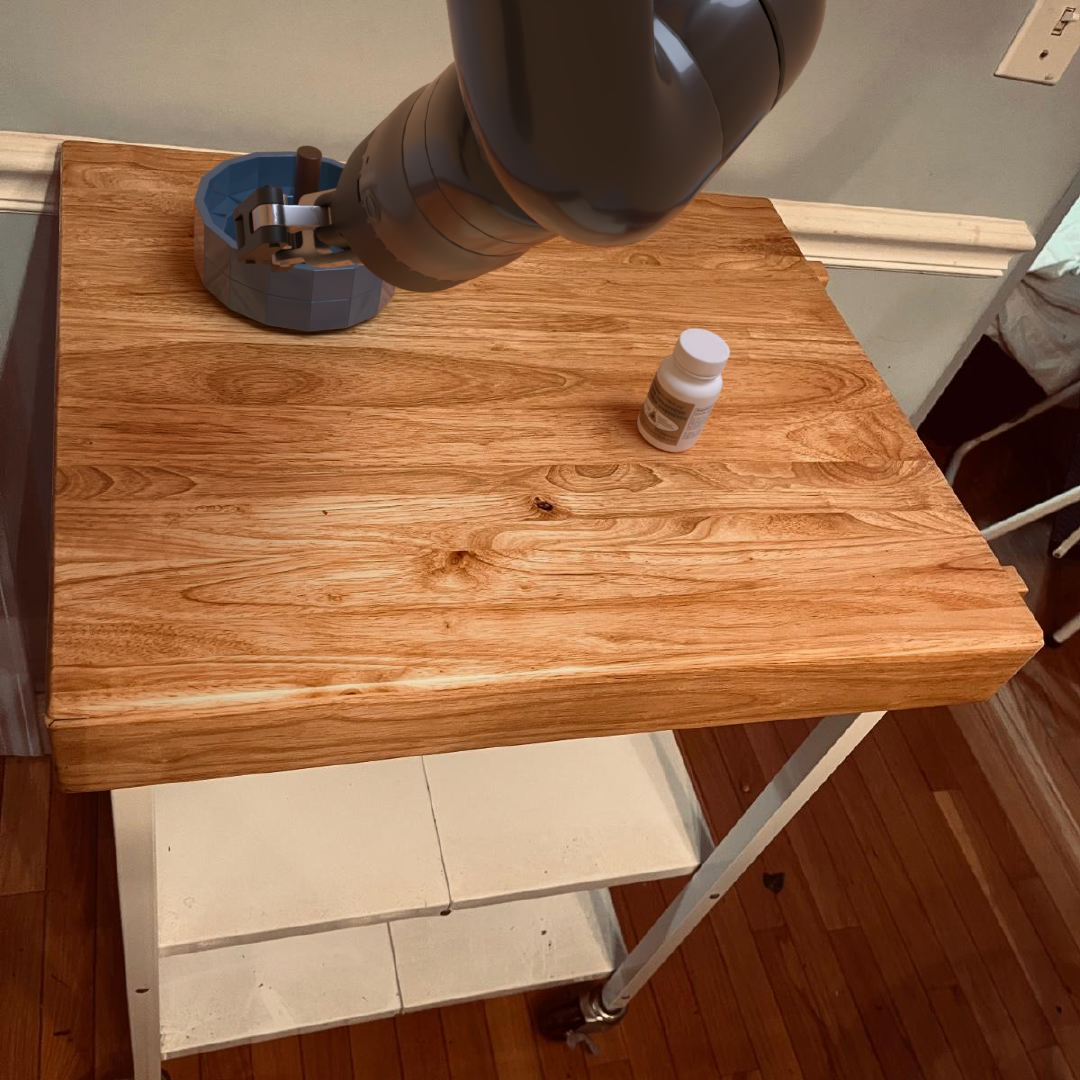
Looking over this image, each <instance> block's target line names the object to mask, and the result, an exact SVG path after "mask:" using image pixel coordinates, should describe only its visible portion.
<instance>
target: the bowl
mask: <svg viewBox="0 0 1080 1080" xmlns="http://www.w3.org/2000/svg"><path fill="white" fill-rule="evenodd" d="M296 154H297V151H293V150H292V151H291V150H290V151H283V150H282V151H253V152H250V153H246V154H242V155H239V156H234V157H232V158H227V159H224V160H222V161H221V162H219V163H218V164H217V165H216V166H214V167H213V168H212V169H210V170H209V171H207V172H206V173H205V174H203V175H202V176H201V177H200V180H199V182H198V186H197V189H196V192H195V196H194V198H193V209H194V210H193V264H194V265H195V268H196V270H197V274H198V276H199V278H200V281H201V283H202V286H203V287H204V288H205V289H206V290H207V291H209V293H210V294H212V295H213V296H214V297H215V298H216V299H217V300H219V301H220V302H221V303H222V304H223V305H224V306H225V307H227V308H228V309H229V310H230V311H233V312H235V313H237V314H239V315H242V316H244V317H246V318H249V319H251V320H254V321H256V322H258V323H261V324H263V325H265V326H270V327H277V328H282V329H289V330H295V331H296V330H297V331H302V332H315V331H318V332H319V331H327V330H340V329H346V328H350V327H353V326H355V325H357V324H360V323H362V322H364V321H366V320H369V319H371V318H374V317H377V316H378V314H379V313H380V312H381V311H382V310H383V309H384V307H385V306H386V305H387V304H388V303H389V302H390V300H391V299H392V298H393V297H394V296H395V291H396V290H395V289H396V287H395V286H392V285H390V284H388V283H386V282H385V281H383V280H381V279H380V278H378V277H377V276H376V275H374V274H373V273H372V272H371V271H370V270H369V269H367V268H366V267H365V266H364V265H358V264H352V265H346V266H340V267H334V268H319V267H312V266H308V265H307V264H302V263H297V264H296V265H295V266H293V267H292V268H291V269H289V270H288V271H287V272H283V273H272V271H271V267H270V265H263V264H261V262H258V263H256V265H245V263H239V262H238V259H237V251H238V249H237V239H236V230H235V222H234V220H233V210H234V209H235V208H236V207H237V206H238V205H239V204H241V203H242V202H243V201H244V200H245V199H246V198H247V197H248V196H249V195H250V194H251V193H252V192H253V191H254V190H256V189H257V188H261V187H263V186H265V185H273V186H275V187H279V188H282V189H283V194H286V195H287V201H288V205H293V192H294V179H295V167H296ZM345 164H346V163H343V162H341V161H338V160H336V159H334V158H330V157H324V156H322V161H321V172H320V182H319V192H321V191H326V190H330V189H335V188H337V185H338V182H339V179H340V176H341V174H342V171H343V169H344V166H345ZM331 251H332V252H337V251H343V249H340V248H337V247H334V246H332V245H331Z"/></svg>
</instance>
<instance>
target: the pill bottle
mask: <svg viewBox="0 0 1080 1080" xmlns="http://www.w3.org/2000/svg"><path fill="white" fill-rule="evenodd" d="M730 354H731V351H730V347H729V345H728V343H727V342H726V341H725V340H724V339H723V338H722V337H721V336H720V335H718V334H716V333H715V332H713V331H710V330H707V329H704V328H699V327H697V328H694V327H693V328H687V329H685V330H683V331H682V332H681V333H680V335H679V336H678V338H677V340H676V343H675V345H674V347H673V351H672V353H671V354H668V355H667V356H665V357H664V358H663V359H662V360H661V361H660V364H659V365H658V367H657V369H656V372H655V374H654V377H653V379H652V382H651V385H650V386H649V389H648V391H647V394H646V397H645V399H644V400H643V403H642V407H641V409H640V411H639V413H638V415H637V420H636V425H637V429H638V431H639V433H640V434H641V436H642V437H643V438H644V440H646V442H648V444H651V445H652V446H653V447H655V448H657V449H659V450H662V451H665V452H668V453H682V452H686V451H688V450H690V449H692V448H693V447H694V446H695V445H696V443H697V441H698V440H699V438H700V435H701V434H702V431H703V430H704V428H705V425H706V423H707V421H708V419H709V417H710V416H711V413H712V411H713V409H714V407H715V405H716V403H717V400H718V399H719V396H720V394H721V391H722V389H723V377H722V373H723V371H724V370H725V367H726V365H727V363H728V361H729V358H730Z"/></svg>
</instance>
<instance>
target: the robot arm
mask: <svg viewBox="0 0 1080 1080" xmlns="http://www.w3.org/2000/svg"><path fill="white" fill-rule="evenodd" d="M445 4H446V11H447V18H448V19H447V20H448V27H449V34H450V40H451V48H452V55H453V59H454V60H453V61H452V62H451V63H450V64H449V65H448V66H447V67H446V68H445V69H444V70H443V71H442V72H441V73H439V75H437V76H436V78H434V79H433V80H432V81H431V82H429V83H426V84H424V85H422V86H421V87H419V88H418V89H416V90H415V91H413V92H412V93H411V94H409V95H408V96H407V97H406V98H404V99H403V100H402V101H401V102H400V103H399V104H398V105H397V106H396V107H395V108H393V110H392V111H391V112H390V113H388V115H387V116H385V118H384V119H382V121H381V122H380V123H378V125H376V127H375V128H374V129H372V131H371V132H370V133H369V134H367V136H366V137H365V138H364V139H362V141H360V143H359V144H358V145H357V146H356V147H355V148H354V149H353V151H352V152H351V154H350V155H349V157H348V159H347V160H346V162H345V163H344V164H345V166H344V169H343V171H342V174H341V176H340V179H339V182H338V185H337V188H335V189H330V190H326V191H321V192H316V193H311V194H306V195H303V196H302V197H301V198H300V200H299V204H298V205H288V201H287V195H286V194H283V189H282V188H279V187H275V186H273V185H265V186H263V187H261V188H257V189H256V190H254V191H253V192H252V193H251V194H250V195H249V196H248V197H247V198H246V199H245V200H244V201H243V202H242V203H241V204H239V205H238V206H237V207H236V208H235V209H234V210H233V220H234V222H235V230H236V239H237V249H238V251H237V259H238V262H239V263H245V265H256V263H258V262H261V264H263V265H270V267H271V271H272V273H283V272H287V271H288V270H289V269H291V268H292V267H293V266H295V265H296V264H297V263H301V262H305V263H306V264H307V265H308V266H312V267H319V268H334V267H340V266H346V265H352V264H358V265H364V266H365V267H366V268H367V269H369V270H370V271H371V272H372V273H373V274H374V275H376V276H377V277H378V278H380V279H381V280H383V281H385V282H386V283H388V284H390V285H392V286H395V288H398V289H401V290H404V291H408V292H412V293H420V294H421V293H422V294H423V293H425V294H427V293H428V294H429V293H437V292H438V293H439V292H442V291H446V290H450V289H451V288H454V287H457V286H459V285H462V284H464V283H467V282H469V281H471V280H474V279H476V278H479V277H481V276H485V275H486V274H489V273H492V272H494V271H496V270H498V269H501V268H503V267H506V266H508V265H511V264H512V263H514V262H515V261H516V260H518V259H520V258H521V257H523V256H524V255H526V253H528V252H529V251H530V250H531V249H533V248H536V247H537V246H540V245H543V244H545V243H547V242H549V241H552V240H553V239H556V238H559V237H560V238H563V239H564V240H567V241H569V242H572V243H575V244H578V245H584V246H588V247H595V248H602V249H608V248H609V249H610V248H618V247H626V246H631V245H634V244H637V243H640V242H642V241H645V240H647V239H649V238H651V237H653V236H655V235H656V234H658V233H659V232H661V231H662V230H663V229H664V228H666V227H667V226H668V225H669V224H672V222H674V221H675V220H676V219H677V218H678V217H679V216H680V215H681V214H682V213H683V212H684V211H686V209H687V208H688V207H689V206H690V205H691V203H692V202H694V200H695V199H696V198H697V197H698V195H699V194H700V193H701V192H702V191H703V190H704V188H706V186H707V185H708V184H709V183H710V182H711V180H712V179H713V178H714V177H715V175H717V173H718V172H719V171H720V170H721V169H722V168H723V166H724V165H725V164H726V163H727V162H728V161H729V160H730V158H731V157H732V156H733V155H734V154H735V153H736V151H737V150H738V149H739V148H740V147H741V145H742V144H744V142H745V141H746V140H747V139H748V137H750V136H751V134H752V133H753V132H754V131H755V129H756V128H757V127H758V126H759V125H760V123H762V121H763V120H764V119H765V118H766V117H767V116H768V115H769V114H770V113H771V111H773V109H774V108H775V107H776V106H777V105H778V104H779V103H780V101H781V100H782V99H783V98H784V97H785V95H787V93H788V92H789V91H790V90H791V88H792V87H793V85H794V84H795V83H796V82H797V80H798V79H799V78H800V76H801V74H802V72H803V71H804V70H805V68H806V66H807V64H808V63H809V61H810V60H811V57H812V55H813V53H814V51H815V48H816V45H817V44H818V41H819V37H820V35H821V32H822V28H823V25H824V20H825V15H826V8H827V0H445ZM299 231H302V237H303V244H302V246H301V248H299V249H296V238H295V233H296V232H299ZM331 245H332V246H334V247H337V248H340V249H343V251H337V252H332V251H331Z"/></svg>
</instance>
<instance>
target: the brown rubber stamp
mask: <svg viewBox="0 0 1080 1080" xmlns="http://www.w3.org/2000/svg"><path fill="white" fill-rule="evenodd" d="M296 152H297V154H296V167H295V179H294V192H293V205H298V204H299V200H300V198H301V197H302V196H303V195H306V194H311V193H316V192H319V182H320V172H321V161H322V157H323V152H322V150H320V149H319V148H317V147H316V146H313V145H300V146H299V147H298V148H297V149H296ZM295 238H296V249H299V248H301V246H302V244H303V237H302V231H299V232H296V233H295ZM301 263H302V264H306V263H305V262H301Z"/></svg>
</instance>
